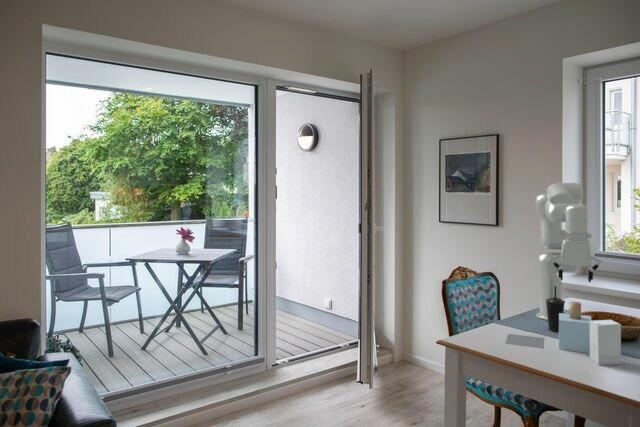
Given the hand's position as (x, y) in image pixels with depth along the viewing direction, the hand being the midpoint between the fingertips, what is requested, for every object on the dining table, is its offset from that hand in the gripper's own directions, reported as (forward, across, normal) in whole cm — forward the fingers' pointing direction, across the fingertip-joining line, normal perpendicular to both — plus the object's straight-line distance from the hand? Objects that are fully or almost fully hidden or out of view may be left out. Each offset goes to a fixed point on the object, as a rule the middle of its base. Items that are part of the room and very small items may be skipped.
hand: (575, 280), depth 182 cm
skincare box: (+27, -9, +14) cm, 31 cm away
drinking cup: (+27, +7, -19) cm, 34 cm away
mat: (+27, +18, +1) cm, 32 cm away
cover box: (+27, 0, +1) cm, 27 cm away
